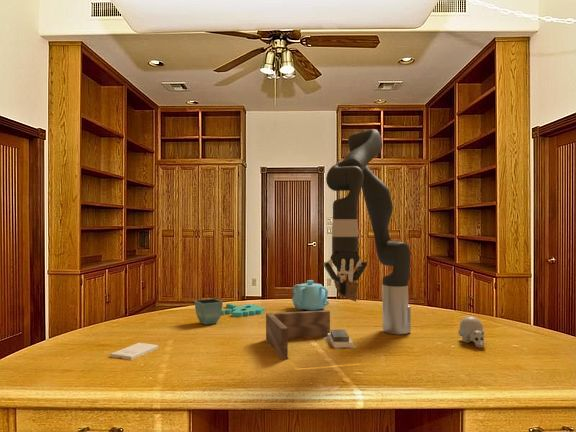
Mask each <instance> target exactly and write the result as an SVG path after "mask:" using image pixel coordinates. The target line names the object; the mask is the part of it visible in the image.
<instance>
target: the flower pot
mask: <svg viewBox="0 0 576 432" xmlns="http://www.w3.org/2000/svg"><path fill="white" fill-rule="evenodd" d="M223 302H224V301H222V300H220V299H216V298H208V299H207V298H206V299H197V300H196V299H195V300H194V306H195V314H196V318H197V319H198V321H199V323H200V324H202V325H205V326H207V325H215V324H217V323H218V322H219V321H220V318H221V316H222V315H221V312H222V310H223Z"/></svg>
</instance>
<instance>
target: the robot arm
mask: <svg viewBox="0 0 576 432" xmlns="http://www.w3.org/2000/svg"><path fill="white" fill-rule="evenodd" d="M347 145H348V150H349V152H348V153H347V154H346V155H345V157H344V158H343V160H341V161H339V162H338V163H336V164H334V165H332V166H331V167H330V168H329V170H328V171H327V174H326V177H325V178H326V180H325V182H326V185H327V187H328V188H329V189H330V190H332V191H335V192H342V191H343V192H346V191H349V192H348V193H347V195H346V196H345V197H342V198H338V199H335V200H334V201H333V203H332V224H331V225H332V226H331V255H330V259H328V260H327V261H326V262H325V261H324V262H322V263H323V264H322V265H323V267H324V269H325V270H326V272H327V274H328V275H329V276H330V278H331V280H333V281H334V280H335V281H337V282H338V289H337V292H338V294H339V295H340V296H342V297H343V296H345V283H344V280H346V281H350V282H356V281H358V280H359V279H360V277H361V276H362V274H363V272H364V271H365V269H366V268H367V265H368V263H367V262H366V261H364V260H363V259H361V257H360V255H359V234H360V233H359V232H360V231H359V225H358V224H359V223H358V203H359V198H360V194H361V190H362V193H363V199H364V202H365V206H366V209H367V214H368V215H369V219H370V224H371V228H372V231H373V238H374V243H375V250H376V254H377V259H378V260H379V263H380V264H381V265H384V266H385V267H386V266H387V267H392V272H391V273H389V274H388V275H385V276H383V277H382V332H383V333H386V334H390V335H406V334H408V333H410V334H411V332H412V331H411V330H412V327H411V326H412V321H411V320H412V315H411V314H412V313H411V312H412V311H411V309H412V307H411V306H410V305H409V281H410V275H411V249H410V246H409V244H408V243H407V242H404V241H392V240H391V237H390V233H389V224H390V221H391V218H392V215H393V208H394V205H393V204H394V203H393V200H392V196H391V193H390V190H389V188H388V187H387V185H386V184H385V183H384V182H383V181H382V180H381V179H379V178H378V177H377V175H375V174H374V173H373V171H372V170H371V168H369V166H368V165H369V163H370V162H371V161H372V160H374V159H375V157H377V156H378V155H379V154H380V153H381V152H382V150H383V140H382V137H381V134H380V132H379V131H378V130H377V129H374V128H371V129H366V130H364V131H363V130H362V131H358V132H356V133H352V134H350V135H349V136H348V139H347ZM333 265H334V267H335V268H336V272H335V270H334V269H333ZM356 266H357V267H356ZM355 267H356V269H354V268H355ZM354 270H355V271H354Z"/></svg>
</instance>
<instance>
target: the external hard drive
mask: <svg viewBox="0 0 576 432" xmlns="http://www.w3.org/2000/svg"><path fill="white" fill-rule="evenodd" d="M155 349H156V350H158V349H159V345H158V344H152V343H151V344H150V343H144V342H138V343H135V344H131V345H129V346H127V347H124V348H122V349H120V350H117V351H114V352H112V353H110V354H109V358H117V359H123V360H129V359H130V360H131V361H132V360H134V358H135V359H137V358H139V357H141V355H142V356H143V355H146V354H149V353H151V352H154V351H155ZM148 352H149V353H148ZM136 357H137V358H136ZM130 360H129V361H130Z"/></svg>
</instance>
